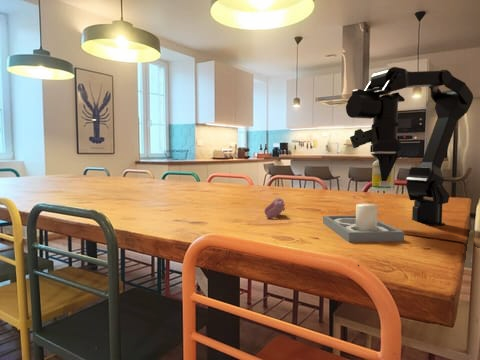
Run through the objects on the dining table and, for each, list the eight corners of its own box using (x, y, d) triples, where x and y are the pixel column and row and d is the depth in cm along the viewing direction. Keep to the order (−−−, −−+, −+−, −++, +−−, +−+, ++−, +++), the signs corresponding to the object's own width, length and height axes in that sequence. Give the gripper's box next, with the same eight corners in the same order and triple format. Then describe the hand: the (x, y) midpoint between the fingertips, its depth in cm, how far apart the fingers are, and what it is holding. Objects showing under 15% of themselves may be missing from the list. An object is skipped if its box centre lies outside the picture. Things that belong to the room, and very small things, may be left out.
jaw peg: (371, 232, 81) (372, 203, 81) (380, 237, 77) (381, 206, 76) (352, 233, 81) (353, 203, 80) (360, 238, 76) (360, 206, 76)
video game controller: (278, 224, 105) (288, 203, 104) (265, 217, 105) (275, 197, 104) (275, 218, 115) (284, 199, 114) (263, 212, 115) (272, 193, 114)
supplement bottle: (384, 191, 85) (386, 153, 85) (367, 189, 90) (368, 153, 89) (398, 190, 88) (400, 153, 87) (381, 188, 93) (382, 153, 92)
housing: (366, 226, 94) (366, 215, 93) (403, 245, 74) (404, 231, 73) (323, 226, 93) (323, 215, 93) (348, 246, 73) (348, 232, 73)
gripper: (352, 123, 99) (351, 177, 100) (351, 116, 82) (349, 182, 83) (394, 122, 96) (392, 178, 97) (402, 115, 78) (400, 183, 79)
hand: (383, 180), depth 89 cm, fingers closed on supplement bottle, 5 cm apart
